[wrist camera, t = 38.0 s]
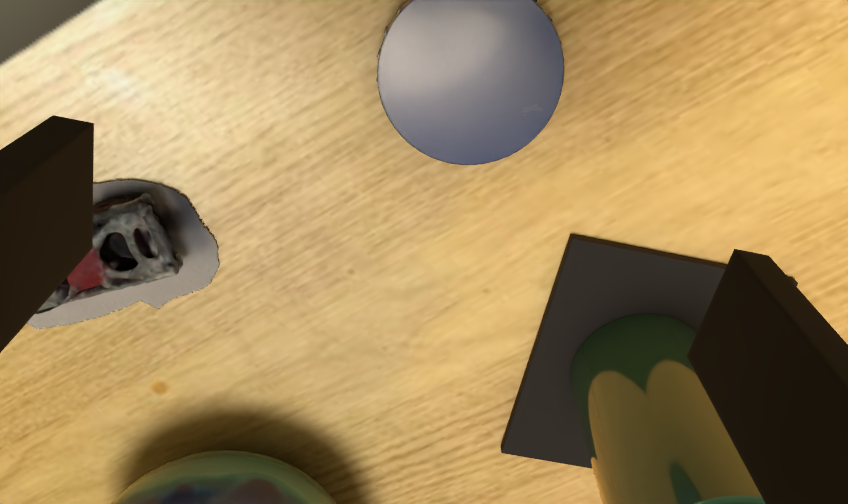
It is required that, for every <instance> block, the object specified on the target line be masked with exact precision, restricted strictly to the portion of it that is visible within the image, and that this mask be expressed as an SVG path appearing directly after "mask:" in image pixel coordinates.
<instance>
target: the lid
mask: <svg viewBox="0 0 848 504" xmlns="http://www.w3.org/2000/svg"><path fill="white" fill-rule="evenodd" d="M536 2H537V0H407V1H406V2H405V3H404V4H403V5H402V6H399V7H398V11H397V13H396V14H395V16H394V17H393V19H392V21H391V23H390V24H389V26H386V29H385V32H384V33H385V36H384V39H383V43H382V46H381V50H380V49H379V52H378V55H377V57H379V59H378V69H377V82H378V88H379V94H380V98H381V101H382V105H383V107H384V109H385V112H386V114H387V116H388V118H389V120H390V121H391V123H392V124H393V126H394V128H395V129H396V130H397V131H398V132H399V134H400V135H401V136H402V137H403V138H404V139H405V140H406V141H407V142H408V143H409V144H410V145H412V146H413V147H415V148H416V149H417V150H419V151H420V152H422V153H424V154H426V155H428V156H430V157H432V158H435V159H437V160H440V161H443V162H447V163H451V164H460V165H477V164H485V163H489V162H493V161H497V160H500V159H502V158H505V157H507V156H509V155H511V154H513V153H515V152H517V151H519V150H520V149H521V148H523V147H524V146H526V145H527V144H528V143H530V142H531V141H532V140H533V139H534V138H535V137H536V136H537V135H538V134H539V133H540V132H541V130H542V129H543V128H544V127H545V125H546V124H547V122H548V121H549V119H550V118H551V116H552V114H553V112H554V110H555V108H556V106H557V104H558V101H559V98H560V95H561V91H562V86H563V79H564V58H563V53H562V47H561V41H560V40H559V38H558V35H557V32H556V30H555V28H554V26H553V24H552V19H551V18H550V17H549V16H548V15H546V14H545V12H544V11H543V10H542V9H541V8H540V7H539V6H538V4H537V3H536Z"/></svg>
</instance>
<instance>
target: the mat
mask: <svg viewBox="0 0 848 504" xmlns="http://www.w3.org/2000/svg"><path fill="white" fill-rule="evenodd" d="M726 267H727V265H725V264H720V263H715V262H710V261H705V260H700V259H695V258H690V257H685V256H680V255H675V254H670V253H665V252H660V251H655V250H650V249H645V248H640V247H635V246H630V245H625V244H620V243H615V242H609V241H604V240H599V239H594V238H589V237H584V236H579V235H574V234H571V235H570V238H569V241H568V244H567V247H566V250H565V253H564V256H563V259H562V262H561V265H560V268H559V271H558V274H557V277H556V280H555V283H554V286H553V289H552V292H551V295H550V298H549V301H548V304H547V307H546V310H545V313H544V316H543V320H542V323H541V326H540V329H539V332H538V335H537V338H536V341H535V344H534V347H533V350H532V353H531V356H530V359H529V362H528V365H527V368H526V371H525V374H524V377H523V380H522V383H521V386H520V389H519V392H518V395H517V398H516V401H515V404H514V407H513V410H512V414H511V417H510V420H509V423H508V426H507V429H506V432H505V435H504V438H503V441H502V444H501V452H502V453H505V454H511V455H517V456H523V457H529V458H534V459H540V460H546V461H552V462H558V463H564V464H569V465H575V466H581V467H587V468H592V464H591V461H590V457H589V454H588V450H587V447H586V443H585V439H584V436H583V432H582V429H581V425H580V422H579V418H578V415H577V411H576V407H575V404H574V400H573V397H572V393H571V389H570V382H569V375H570V368H571V365H572V361H573V359H574V357H575V355H576V353H577V351H578V350H579V348H580V347H581V345H582V344H583V343H584V342H585V340H586V339H587V338H588V337H589V336H591V335H592V334H593V333H594V332H595V331H597V330H598V329H599V328H601V327H603V326H604V325H606V324H608V323H610V322H612V321H615V320H617V319H620V318H623V317H627V316H631V315H637V314H659V315H665V316H669V317H673V318H675V319H678V320H680V321H682V322H684V323H686V324H688V325H689V326H690V327H692V328H693V329H694V330H695V331H696V332H698V330H699V327H700V325H701V323H702V321H703V318H704V316H705V314H706V312H707V309H708V307H709V305H710V303H711V300H712V298H713V296H714V294H715V291H716V289H717V287H718V285H719V283H720V280H721V278H722V276H723V274H724V271H725V269H726ZM788 278H789V279H790V280H791V281H792V283H793V284H794V285H795V286H797V284H798V283H797V282H796V281H795V279H794V278H790V277H788Z"/></svg>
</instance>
